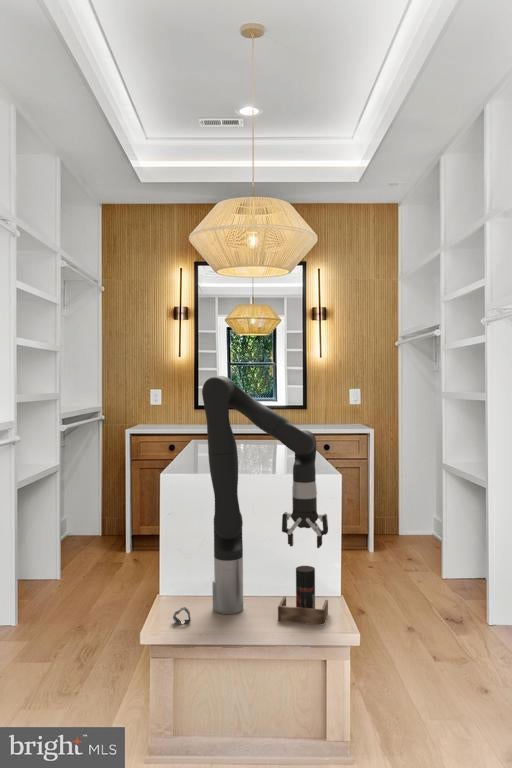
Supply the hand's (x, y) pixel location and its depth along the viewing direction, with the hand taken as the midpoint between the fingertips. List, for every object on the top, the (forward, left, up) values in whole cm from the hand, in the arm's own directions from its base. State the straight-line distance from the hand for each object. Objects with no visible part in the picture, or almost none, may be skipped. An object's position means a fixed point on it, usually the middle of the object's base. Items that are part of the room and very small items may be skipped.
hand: (305, 546), depth 206 cm
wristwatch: (-36, -14, -22) cm, 45 cm away
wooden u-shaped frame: (0, -1, -22) cm, 22 cm away
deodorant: (0, 0, -22) cm, 22 cm away
